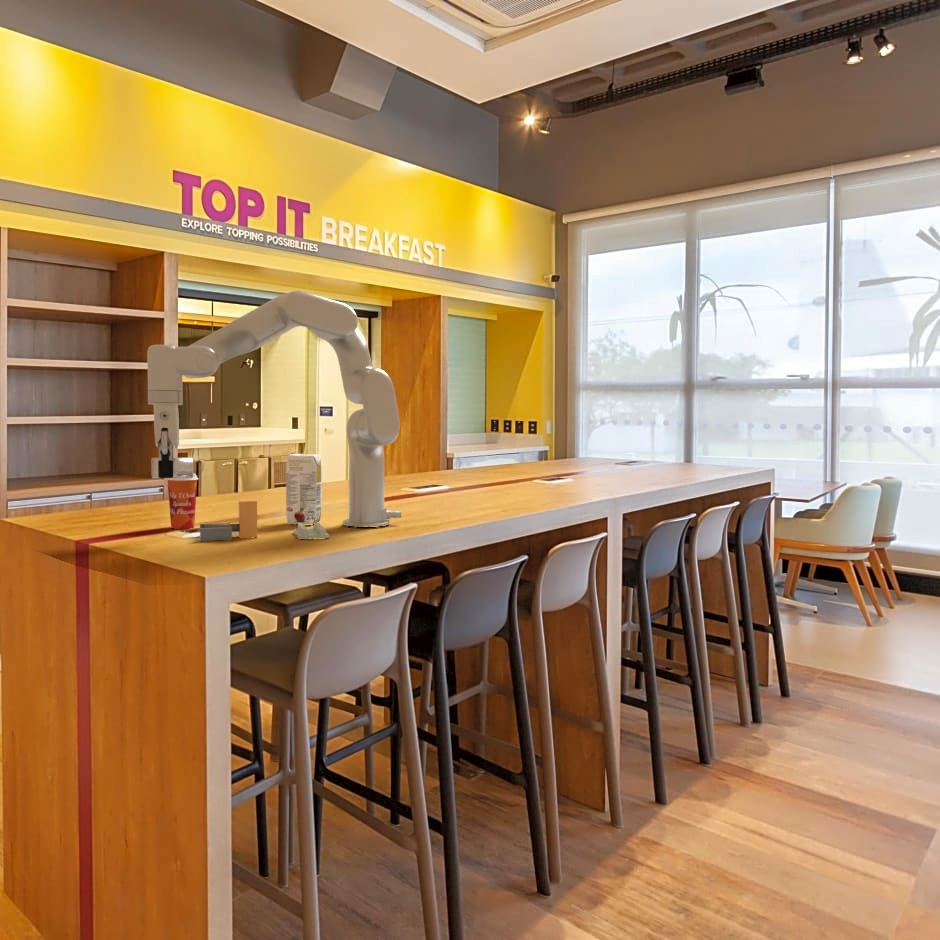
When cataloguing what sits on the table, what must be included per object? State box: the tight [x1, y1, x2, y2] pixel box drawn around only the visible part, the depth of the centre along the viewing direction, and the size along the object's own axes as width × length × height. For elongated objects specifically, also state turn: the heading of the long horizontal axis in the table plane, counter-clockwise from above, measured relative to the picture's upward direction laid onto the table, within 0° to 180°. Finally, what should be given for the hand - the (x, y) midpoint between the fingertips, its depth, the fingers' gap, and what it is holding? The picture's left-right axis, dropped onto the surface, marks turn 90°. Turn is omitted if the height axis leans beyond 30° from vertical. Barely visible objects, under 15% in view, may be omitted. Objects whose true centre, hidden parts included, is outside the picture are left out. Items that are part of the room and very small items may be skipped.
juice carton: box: [285, 453, 323, 525], centre depth 214 cm, size 8×9×19 cm
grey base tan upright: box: [205, 498, 258, 539], centre depth 190 cm, size 12×4×9 cm, turn 110°
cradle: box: [293, 522, 330, 540], centre depth 195 cm, size 7×11×2 cm, turn 20°
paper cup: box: [166, 472, 199, 530], centre depth 203 cm, size 8×8×14 cm
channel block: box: [199, 522, 233, 542], centre depth 189 cm, size 7×8×3 cm
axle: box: [150, 457, 194, 479], centre depth 185 cm, size 9×5×5 cm, turn 108°
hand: (166, 475), depth 185 cm, fingers closed on axle, 4 cm apart
